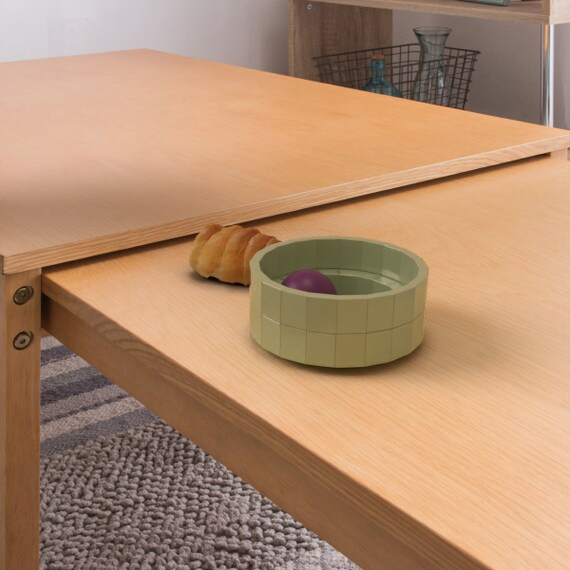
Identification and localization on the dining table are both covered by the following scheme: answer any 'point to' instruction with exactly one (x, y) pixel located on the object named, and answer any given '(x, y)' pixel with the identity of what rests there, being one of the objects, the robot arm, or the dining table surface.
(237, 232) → the pastry
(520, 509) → the dining table surface
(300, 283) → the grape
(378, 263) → the basin
